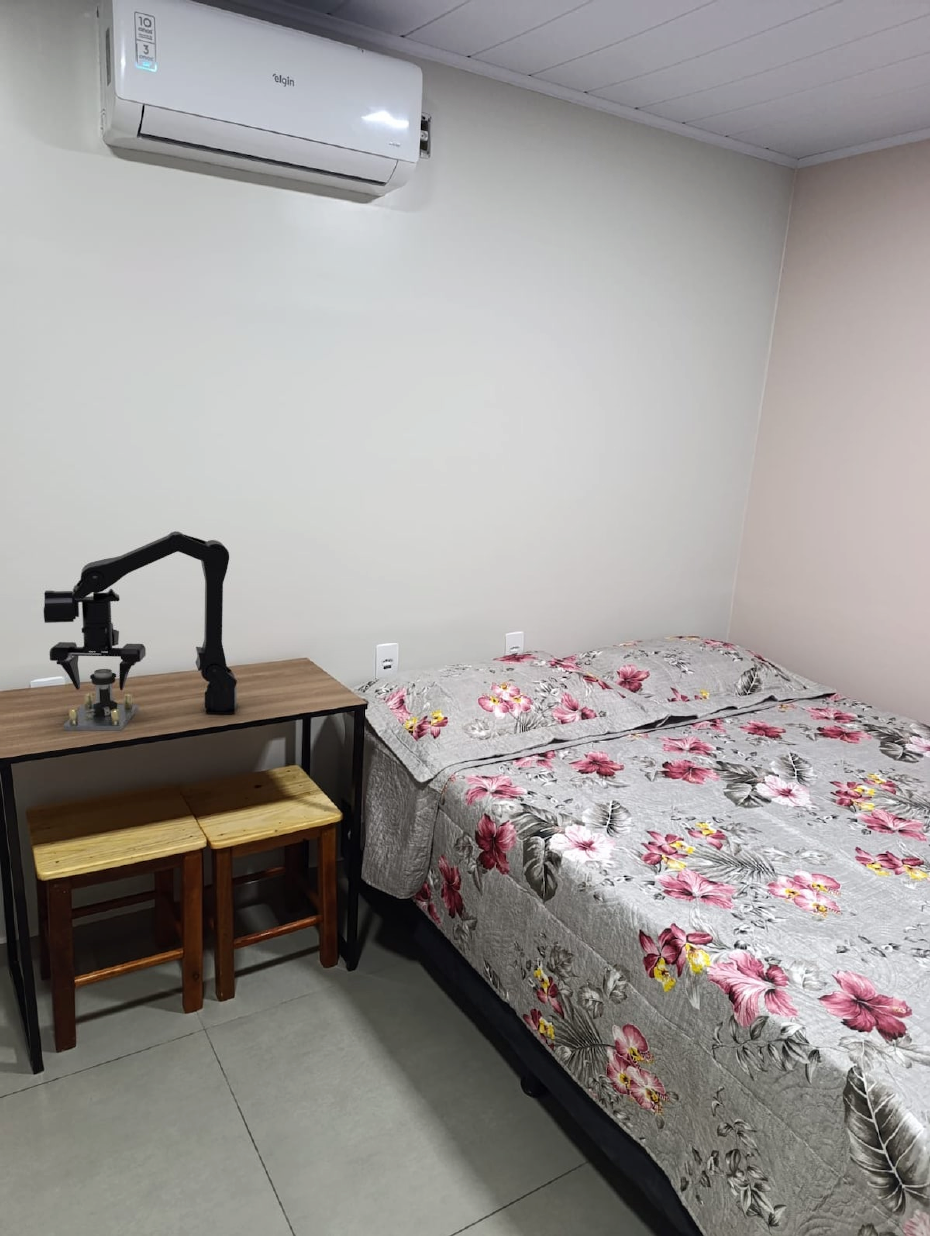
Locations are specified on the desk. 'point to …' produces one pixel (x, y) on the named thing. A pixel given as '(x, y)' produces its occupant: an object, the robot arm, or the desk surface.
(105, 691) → the push button
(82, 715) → the chassis
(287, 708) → the desk surface
